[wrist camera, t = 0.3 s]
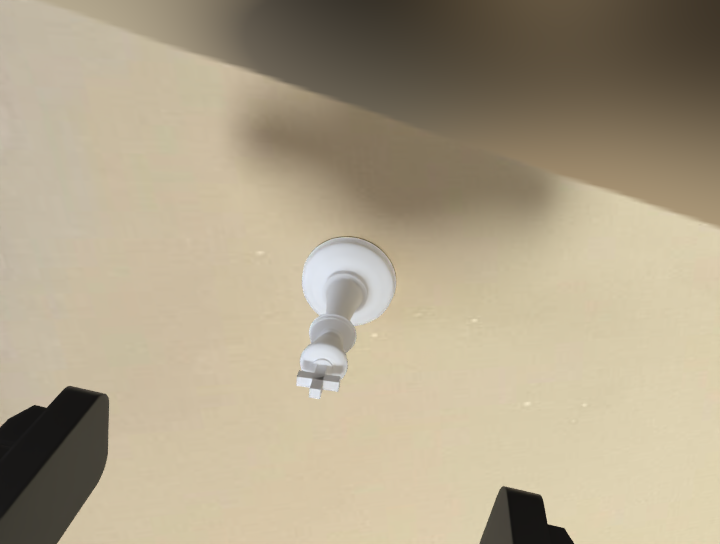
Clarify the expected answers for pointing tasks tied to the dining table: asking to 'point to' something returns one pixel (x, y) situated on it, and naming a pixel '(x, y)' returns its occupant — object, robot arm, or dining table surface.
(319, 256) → the chess piece
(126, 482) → the dining table surface
